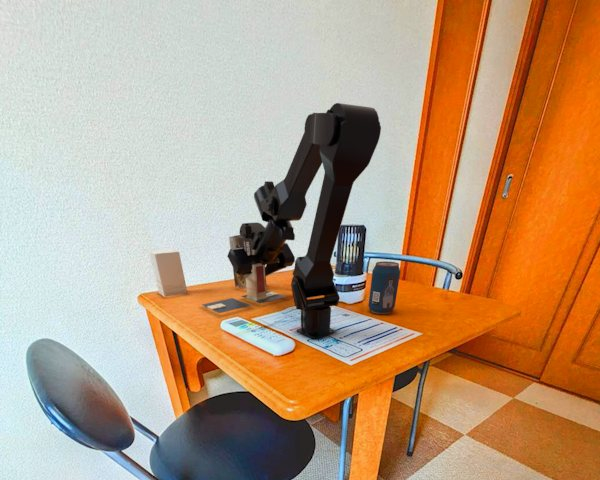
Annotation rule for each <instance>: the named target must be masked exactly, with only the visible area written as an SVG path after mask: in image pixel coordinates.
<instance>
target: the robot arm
mask: <svg viewBox="0 0 600 480" xmlns="http://www.w3.org/2000/svg"><path fill="white" fill-rule="evenodd" d="M381 131H382V126H381V122H380V118H379V114H378V111H377V110H376V109H375V108H374V107H371V106H364V105H357V104H356V105H355V104H349V103H348V104H347V103H340V102H336V103H334V104H332V105H331V107H330V109H327V110H326V112H313V113H310V114H308V115H307V117H306V119H305V122H304V132H303V135H302V137H301V140H300V141H299V144H298V147H297V148H296V152H294V153H295V154H294V156H293V158H292V161H291V163H290V166H289V168H288V170H287V173H286V175H285V177H284V179H282V180H280V182H278V183H276V184H274V182H273V181H268V180H267V181H264V183H263V185H261V186H259V187H258V188H257V189H256V190H255V191H254V193H253V199H254V202H255V204H256V207H257V210H258V212H259V215H260V219H261V220H262V222H265V223H267V224H266V226H264V225H263V224H262V223H260V222H243V223H241V225H240V227H239V235H241V236H242V237H243V238H244V239H248V240H249V241H250V242H251V245H250V246H251V248H252V250H254V255H247V253H246V251H245V249H244V248H236V249H230V248H229V251H228V253H227V255H226V256H227V257H226V258H228V260H229V262H230V264H231V266H232V269H233V268H234V270H235V272H236V273H237V274H239V278H240V280H241V281H243V280H244V279H245V278H247V277H248V276H249V275H251V274H252V272H251V270H252V265H257V264H262V265H265V276H266V277H268V276H270V275H272V274H274V273H277V272H279V271H281V270H283V269H286V268H287V267H292V266H293V265H294V269H293V271H292V278H291V283H290V285H291V293H292V298H293V304H294V307H295V309H296V310H300V328H297V329H296V332H297V333H299V334H301V335H303V336H306V337H308V338H311V339H312V340H318V339H320V338H321V339H322V338H324V337H326V336H329V335H331V334H334V333H336V332H335V331H336V330H335V329H333V328H331V320H332V319H331V317H332V307H337V306H339V302H340V298H341V297H340V294H339V292H338V290H337V287H336V284H335V282H334V277H335V273H334V270H333V267H332V264H331V261H332V257H333V253H334V250H335V246H336V243H337V240H338V237H339V233H340V229H341V226H342V223H343V220H344V216H345V214H346V213H345V212H346V209H347V206H348V202H349V199H350V196H351V193H352V189H353V186H354V183H355V181H356V180H357V179H358V178H359V177H360V176H361V174H362V173H364V171H365V170H366V169H367V168H368V167H369V165H370V163H371V160H372V157H373V156H374V153H375V151H376V149H377V146H378V143H379V141H380V137H381ZM321 166H322V167H323V170H324V173H323V179H322V184H321V187H320V188H321V189H320V193H319V197H318V202H317V207H316V211H315V214H314V215H315V216H314V220H313V225H312V230H311V234H310V238H309V243H308V246H307V247H308V248H307V252H306V254H305V255H304V256H297V257H295V255H294V253H293V251H292V249H291V248H290V246H289V244H288V243H287V242H286V241H295V240H296V238H295V237H296V235H295V232H294V226H293V225H292V223H291V222H296V221H300V220H302V217H303V215H304V213H305V211H306V208H307V206H308V205H307V198H306V195H307V193H308V190H309V189H310V187H311V185H312V183H313V181H314V179H315V177H316V175H317V174H318V172H319V170H320V168H321Z"/></svg>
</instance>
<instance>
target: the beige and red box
mask: <svg viewBox="0 0 600 480" xmlns="http://www.w3.org/2000/svg"><path fill="white" fill-rule="evenodd" d="M265 267H266V265H265V266H264V265H262V264H257V265H252V270H251V272H252V274H251V275H249V276H248V277H247V278H246V287H247V289H246V295H247V297H250V298H253V299H255V300H259V299H264V298H267V297H266V291H267V280H266V281H265Z"/></svg>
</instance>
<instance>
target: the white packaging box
mask: <svg viewBox="0 0 600 480" xmlns="http://www.w3.org/2000/svg"><path fill="white" fill-rule="evenodd" d="M148 253H149V258H150V262H151V266H152V270H153V274H154V275H153V276H154V278H155V282H156V286H157V290H158V294H159V295H161V296H162V297H163V298H166V297H172V296H177V295H178V296H179V295H182V294H187V293H188V289H187V284H186V278H185V273H184V269H183V264H182V260H181V255H180V251H178V250H175V249H172V248H171V249H159V250H151V251H148Z"/></svg>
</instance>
